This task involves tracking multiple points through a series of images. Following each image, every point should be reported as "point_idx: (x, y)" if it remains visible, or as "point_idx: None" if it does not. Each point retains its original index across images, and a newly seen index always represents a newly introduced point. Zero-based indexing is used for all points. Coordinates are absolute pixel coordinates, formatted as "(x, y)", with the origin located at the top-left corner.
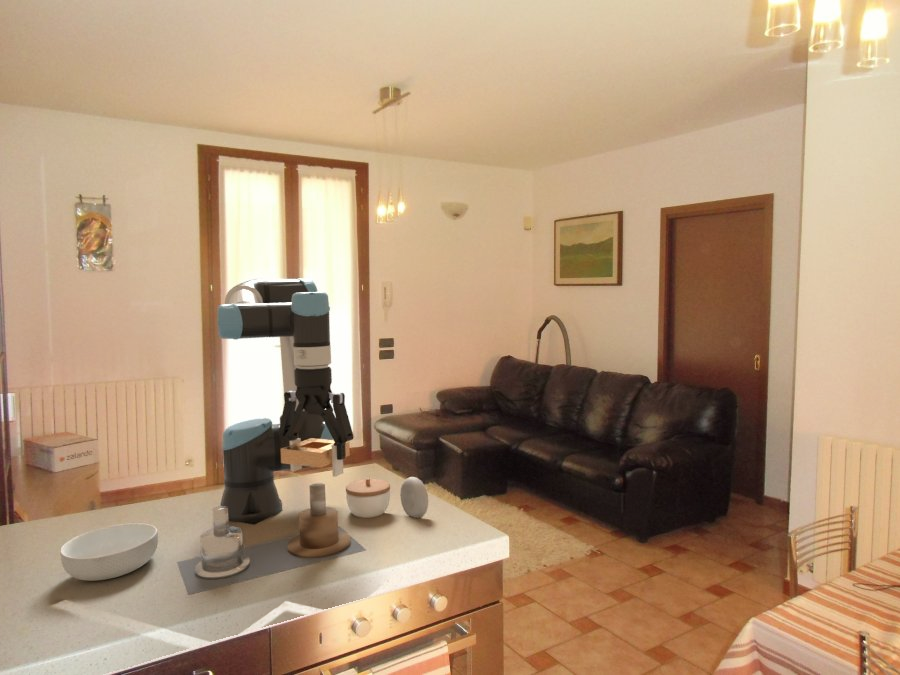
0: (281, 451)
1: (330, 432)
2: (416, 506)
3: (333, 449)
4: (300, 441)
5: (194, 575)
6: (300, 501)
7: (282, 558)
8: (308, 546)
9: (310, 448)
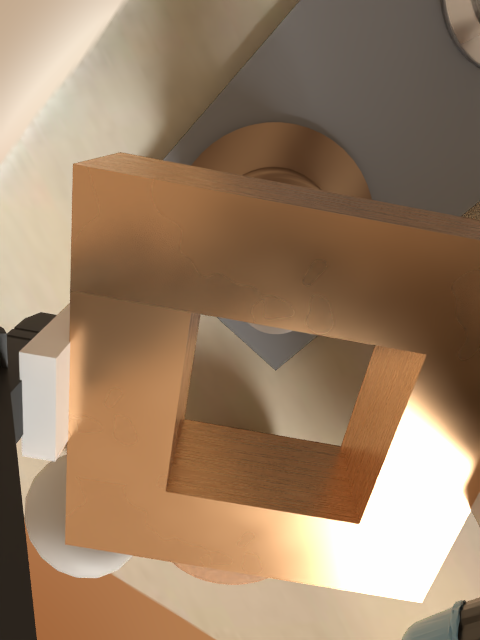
0: None
1: (4, 450)
2: (63, 467)
3: (54, 335)
4: (473, 510)
5: None
6: (476, 529)
7: (347, 99)
8: (281, 168)
9: (273, 313)
